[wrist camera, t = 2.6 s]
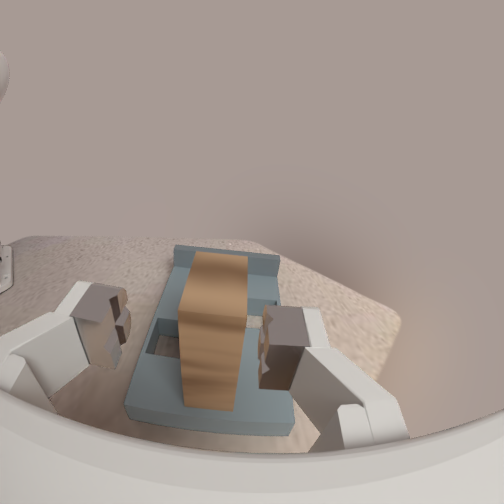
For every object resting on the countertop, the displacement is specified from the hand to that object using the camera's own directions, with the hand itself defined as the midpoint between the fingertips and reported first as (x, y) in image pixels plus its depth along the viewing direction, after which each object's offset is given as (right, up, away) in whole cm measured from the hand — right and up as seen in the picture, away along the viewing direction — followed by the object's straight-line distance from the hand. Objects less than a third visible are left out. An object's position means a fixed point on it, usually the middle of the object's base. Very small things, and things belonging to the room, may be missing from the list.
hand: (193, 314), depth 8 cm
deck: (-3, -10, +28) cm, 30 cm away
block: (-2, -11, +20) cm, 23 cm away
